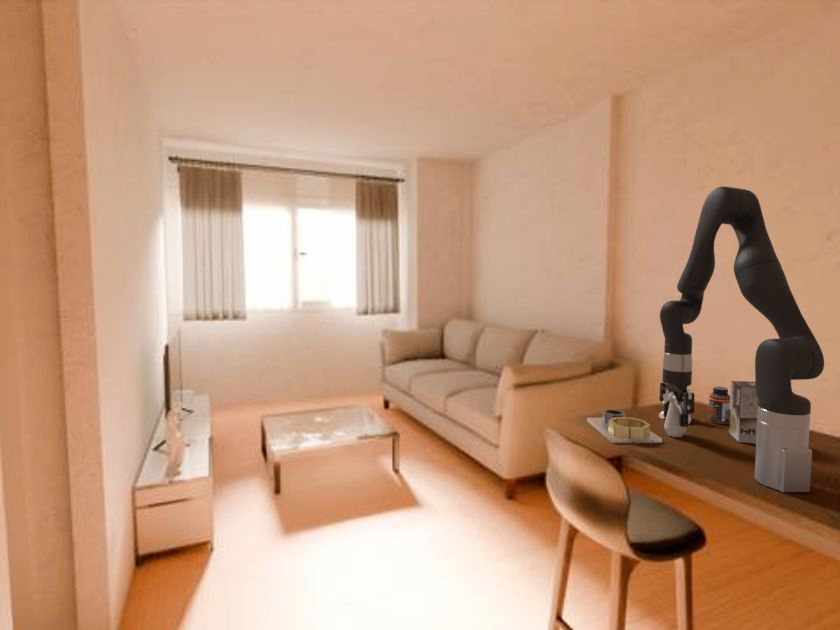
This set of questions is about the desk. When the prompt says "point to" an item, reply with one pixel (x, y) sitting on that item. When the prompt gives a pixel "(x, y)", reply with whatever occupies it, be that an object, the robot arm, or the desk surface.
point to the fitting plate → (620, 439)
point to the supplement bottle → (719, 406)
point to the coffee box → (743, 411)
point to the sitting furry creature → (663, 411)
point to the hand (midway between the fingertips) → (675, 421)
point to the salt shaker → (673, 420)
